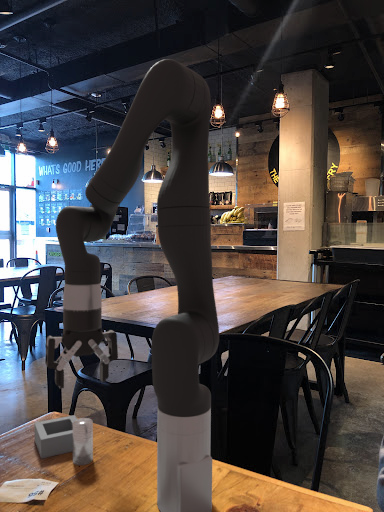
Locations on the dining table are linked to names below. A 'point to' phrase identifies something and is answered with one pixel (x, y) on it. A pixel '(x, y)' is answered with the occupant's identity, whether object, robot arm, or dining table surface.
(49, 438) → the box
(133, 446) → the dining table surface
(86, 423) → the peg
